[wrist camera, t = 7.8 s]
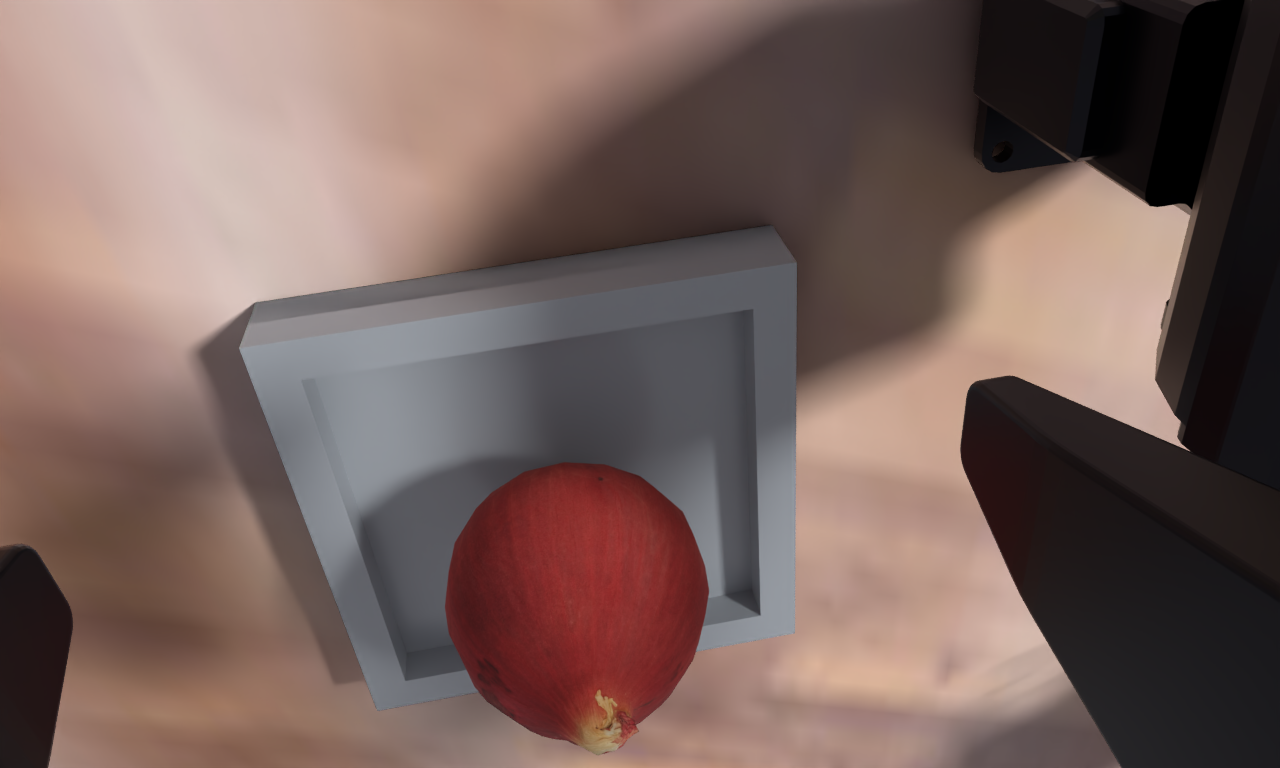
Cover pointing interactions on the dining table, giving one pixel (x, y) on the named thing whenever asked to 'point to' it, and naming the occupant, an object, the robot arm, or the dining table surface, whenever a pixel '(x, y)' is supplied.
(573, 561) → the onion
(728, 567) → the dish
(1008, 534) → the robot arm
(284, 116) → the dining table surface
